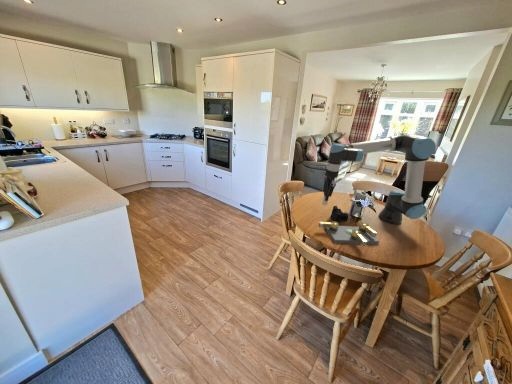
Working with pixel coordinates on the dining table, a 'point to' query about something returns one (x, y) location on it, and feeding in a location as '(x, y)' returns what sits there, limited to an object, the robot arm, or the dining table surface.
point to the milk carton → (354, 206)
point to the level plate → (349, 235)
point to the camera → (338, 215)
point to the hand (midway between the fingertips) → (324, 204)
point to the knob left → (358, 237)
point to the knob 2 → (367, 229)
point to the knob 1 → (329, 225)
